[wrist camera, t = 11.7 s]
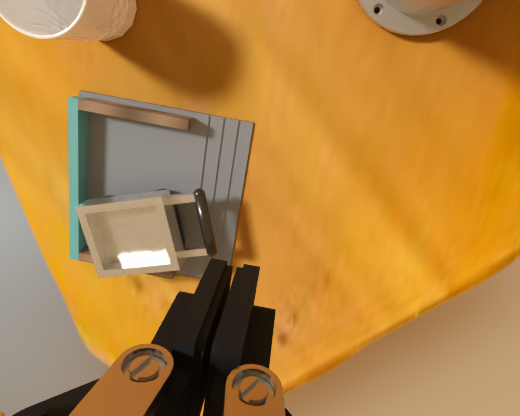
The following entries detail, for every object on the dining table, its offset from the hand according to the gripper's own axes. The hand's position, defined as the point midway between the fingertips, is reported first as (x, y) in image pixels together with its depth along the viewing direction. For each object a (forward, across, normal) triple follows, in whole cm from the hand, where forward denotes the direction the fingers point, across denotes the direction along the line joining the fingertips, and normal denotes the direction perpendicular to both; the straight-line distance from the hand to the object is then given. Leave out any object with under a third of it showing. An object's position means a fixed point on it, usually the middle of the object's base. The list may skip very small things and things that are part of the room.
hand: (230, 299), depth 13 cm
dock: (+27, +12, +8) cm, 31 cm away
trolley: (+27, +12, +11) cm, 31 cm away
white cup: (+28, +19, -10) cm, 35 cm away
